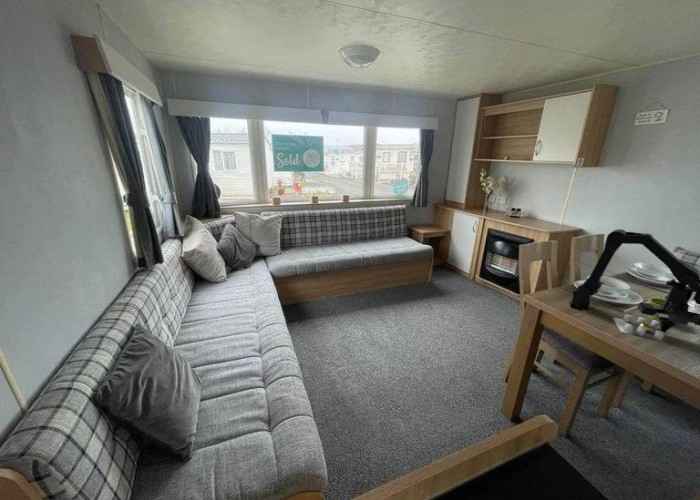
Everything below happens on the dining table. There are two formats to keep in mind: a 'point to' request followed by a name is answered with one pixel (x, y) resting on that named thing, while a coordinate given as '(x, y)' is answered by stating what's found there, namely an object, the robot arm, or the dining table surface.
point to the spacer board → (631, 327)
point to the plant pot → (656, 306)
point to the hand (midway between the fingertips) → (662, 331)
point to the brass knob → (645, 325)
